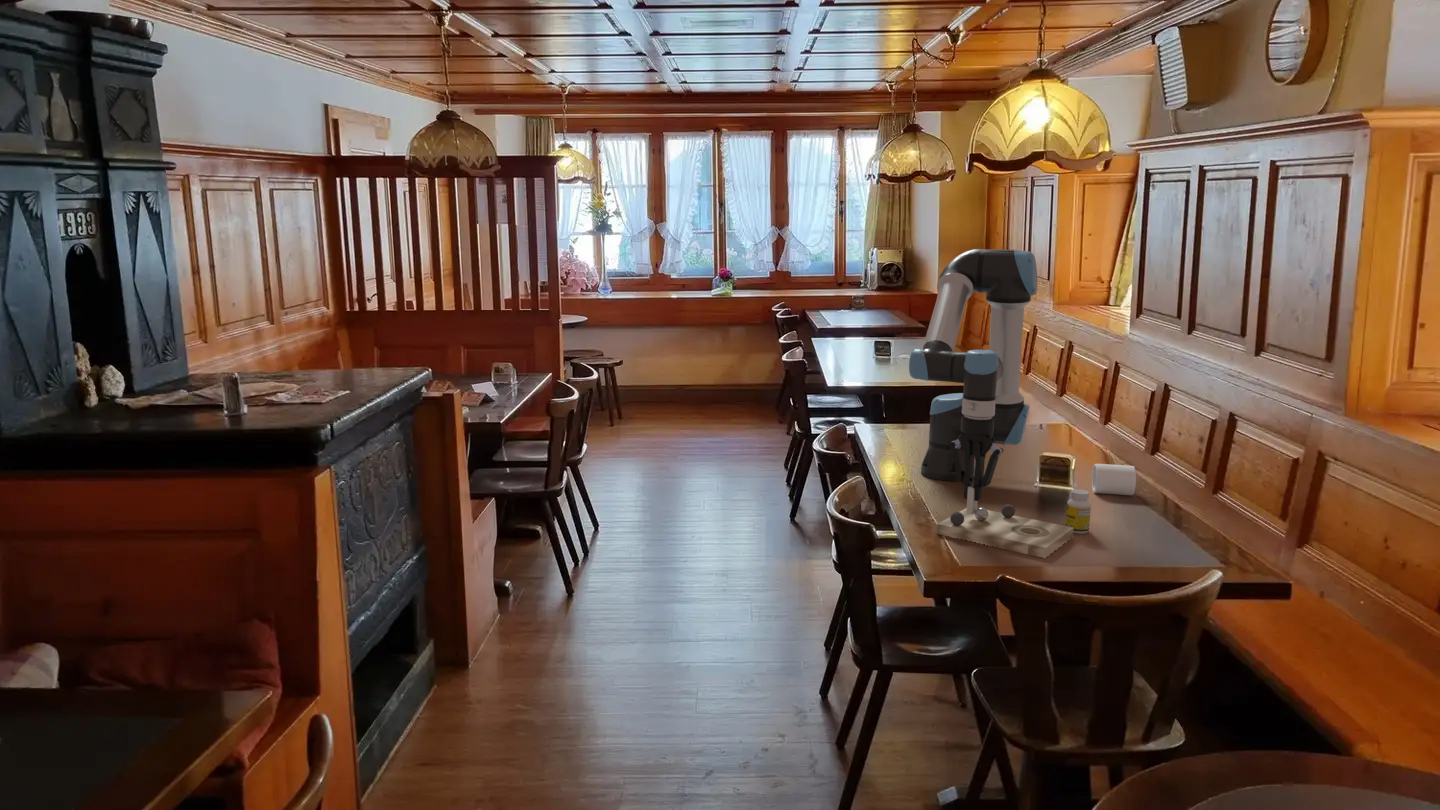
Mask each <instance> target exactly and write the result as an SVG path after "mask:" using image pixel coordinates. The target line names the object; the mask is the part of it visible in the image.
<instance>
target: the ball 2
mask: <svg viewBox="0 0 1440 810" xmlns="http://www.w3.org/2000/svg"><path fill="white" fill-rule="evenodd" d="M1015 509H1016V508H1015V507H1014V506H1013V505H1011V504H1005V505H1003V506H1002V507H1001V512H1000V513H1002V515H1003V516H1004V517H1006V518H1011V517H1012V516H1015V514H1016V510H1015Z"/></svg>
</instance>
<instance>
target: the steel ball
mask: <svg viewBox="0 0 1440 810" xmlns="http://www.w3.org/2000/svg"><path fill="white" fill-rule="evenodd" d="M977 508H978V509H976V511H975V517H976V519H977V520H979V521H984V520H986V519H987V518H988V511H987V510H988V509H986V508H985V507H977Z"/></svg>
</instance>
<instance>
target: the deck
mask: <svg viewBox="0 0 1440 810" xmlns="http://www.w3.org/2000/svg"><path fill="white" fill-rule="evenodd" d="M978 508H979V507H977V509H978ZM966 509H967V507H966V508H964V509H962V510H960V511H959V512H960V513H962V514H963V516H964V522H963V523H962V524H961V525H959V526H956V525H954V524H952V523H951V520H950V517H951V516H949V517H948V518H946V519H944V520H942V521H940V522H938V523H937V525H936V535H939V536H944V537H948V536H949V537H948V538H953V539H957V538H958V539H957V540H961V539H962V540H961V541H965V540H967V541H966V542H970V541H972V542H971V543H974V542H976V544H979V543H980V544H979V545H983V544H985V545H984V546H987V545H988V547H992V546H993V548H996V547H997V549H1001V548H1002V550H1005V549H1006V550H1005V551H1010V552H1015V553H1019V554H1024V555H1028V556H1033V557H1036V556H1037V557H1038V558H1041V557H1042V558H1041V559H1047V558H1048V557H1049V556H1051V555H1052V554H1054V553H1055V552H1056V551H1057V550H1059V549H1060V548H1061V547H1063V546H1064V545H1065V544H1066V543H1068V542H1069V541H1071V540H1072V539H1073V538H1074V533H1073V527H1068V526H1065V525H1064V524H1063V525H1062V524H1057V523H1052V522H1048V521H1043V520H1039V519H1034V518H1028V517H1024V516H1018V515H1014V516H1012V517H1011V518H1006V517H1004V516H1003V515H1002V513H1001V512H999V511H998V512H997V511H994V510H989V509H986V510H987V511H988V518H987V519H986V520H984V521H979V520H977V519H976V517H975V513H974V514H967V513H966ZM1072 537H1073V538H1072ZM1071 538H1072V539H1071ZM1068 540H1069V541H1068ZM1067 541H1068V542H1067ZM1064 543H1065V544H1064ZM1063 544H1064V545H1063ZM1059 547H1060V548H1059ZM1058 548H1059V549H1058ZM1055 550H1056V551H1055ZM1054 551H1055V552H1054ZM1051 553H1052V554H1051ZM1050 554H1051V555H1050ZM1047 556H1048V557H1047ZM1046 557H1047V558H1046Z"/></svg>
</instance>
